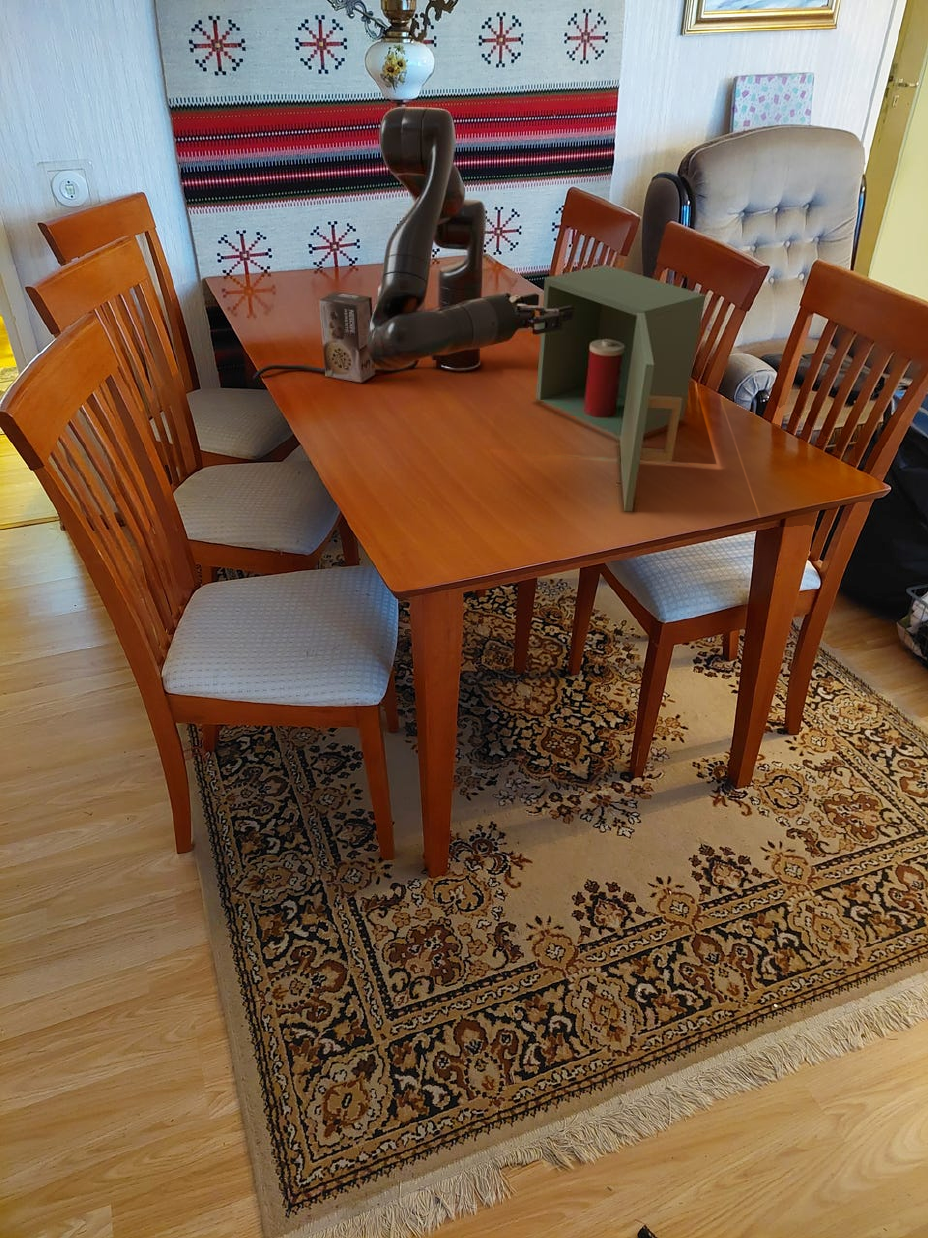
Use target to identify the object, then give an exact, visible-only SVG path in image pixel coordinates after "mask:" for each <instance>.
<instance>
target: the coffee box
mask: <svg viewBox="0 0 928 1238" xmlns="http://www.w3.org/2000/svg"><path fill="white" fill-rule="evenodd" d="M318 304H319V305H318V306H319V317H320V327H321V340H322V349H323V363H324V369H325V373H324V376H325V377H326V378H332V379H338V380H343V381H348V382H354V383H360V384H362V383H364V382H365V381H367V380H368V379H370V378H372V377H373V376H375V375H376V373H375V369H376V365H375V364H374V363H373V361H372V360H371V358H370V356H369V353H368V348H367V334H368V328H369V324H370V321H371V317H372V314H373V297H372V296H366V295H360V294H355V293H354V294H353V293H347V292H340V291H333V292H330V293H329V294H327V295H325V296H323V297H322V298H319V299H318Z"/></svg>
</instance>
